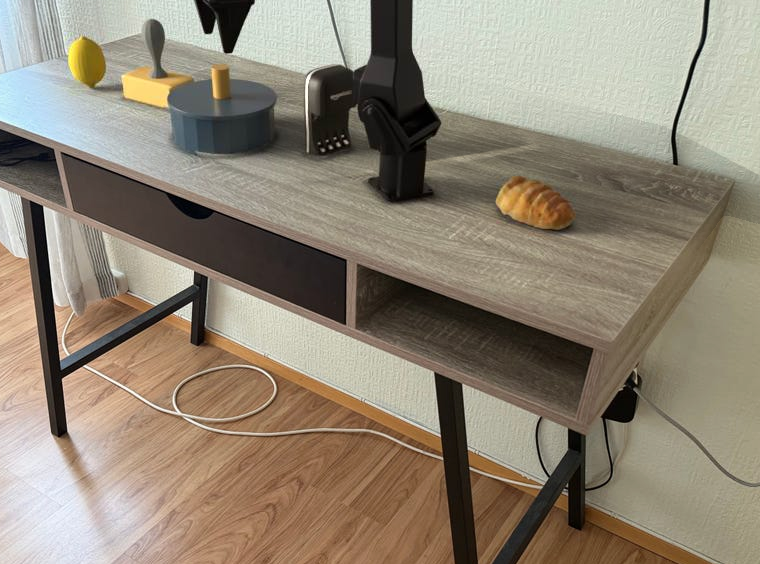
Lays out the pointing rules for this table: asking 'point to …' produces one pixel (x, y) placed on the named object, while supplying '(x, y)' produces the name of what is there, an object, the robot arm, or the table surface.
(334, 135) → the battery charger
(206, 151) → the tin
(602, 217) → the table surface
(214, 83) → the tin lid
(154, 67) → the rubber stamp
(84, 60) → the lemon
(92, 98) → the table surface
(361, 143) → the table surface
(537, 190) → the pastry
